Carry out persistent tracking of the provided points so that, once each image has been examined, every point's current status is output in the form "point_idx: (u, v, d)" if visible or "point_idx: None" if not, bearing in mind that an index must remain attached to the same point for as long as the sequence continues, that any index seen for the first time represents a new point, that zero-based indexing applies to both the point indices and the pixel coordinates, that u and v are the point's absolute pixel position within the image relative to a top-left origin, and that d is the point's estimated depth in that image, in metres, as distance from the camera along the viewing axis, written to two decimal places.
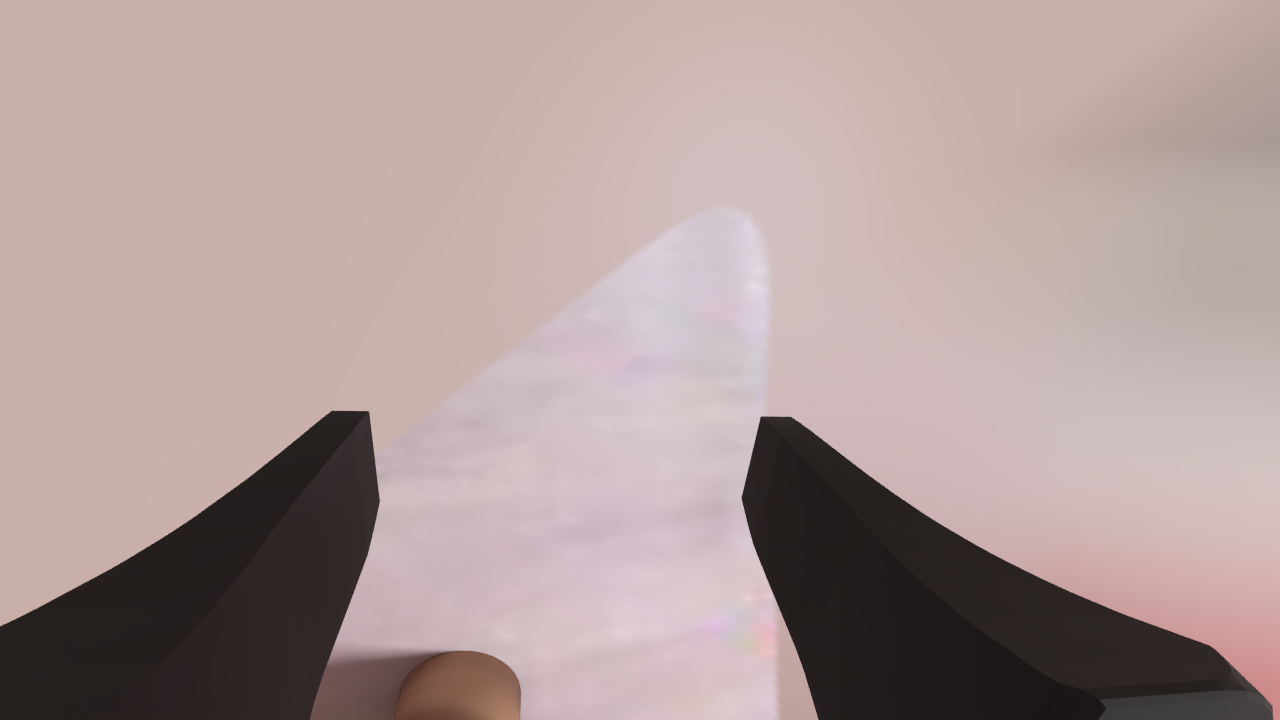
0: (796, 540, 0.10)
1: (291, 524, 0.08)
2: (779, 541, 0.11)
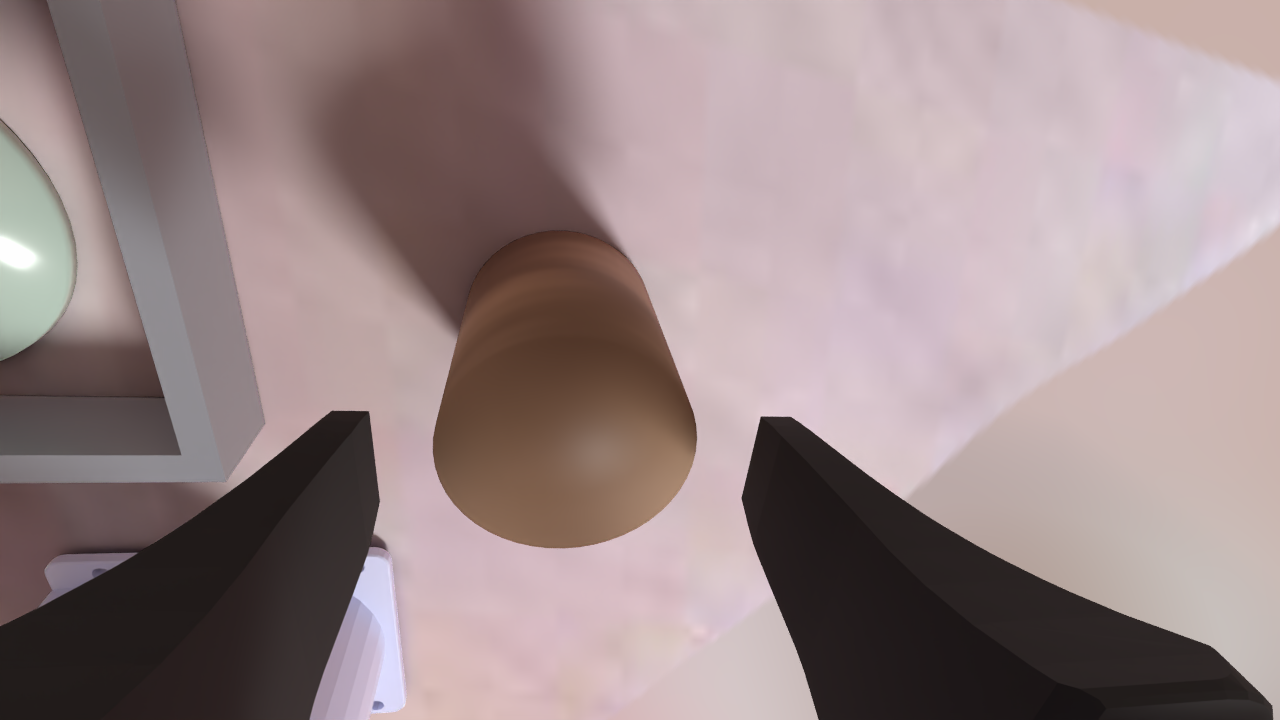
0: (796, 540, 0.10)
1: (291, 524, 0.08)
2: (779, 541, 0.11)
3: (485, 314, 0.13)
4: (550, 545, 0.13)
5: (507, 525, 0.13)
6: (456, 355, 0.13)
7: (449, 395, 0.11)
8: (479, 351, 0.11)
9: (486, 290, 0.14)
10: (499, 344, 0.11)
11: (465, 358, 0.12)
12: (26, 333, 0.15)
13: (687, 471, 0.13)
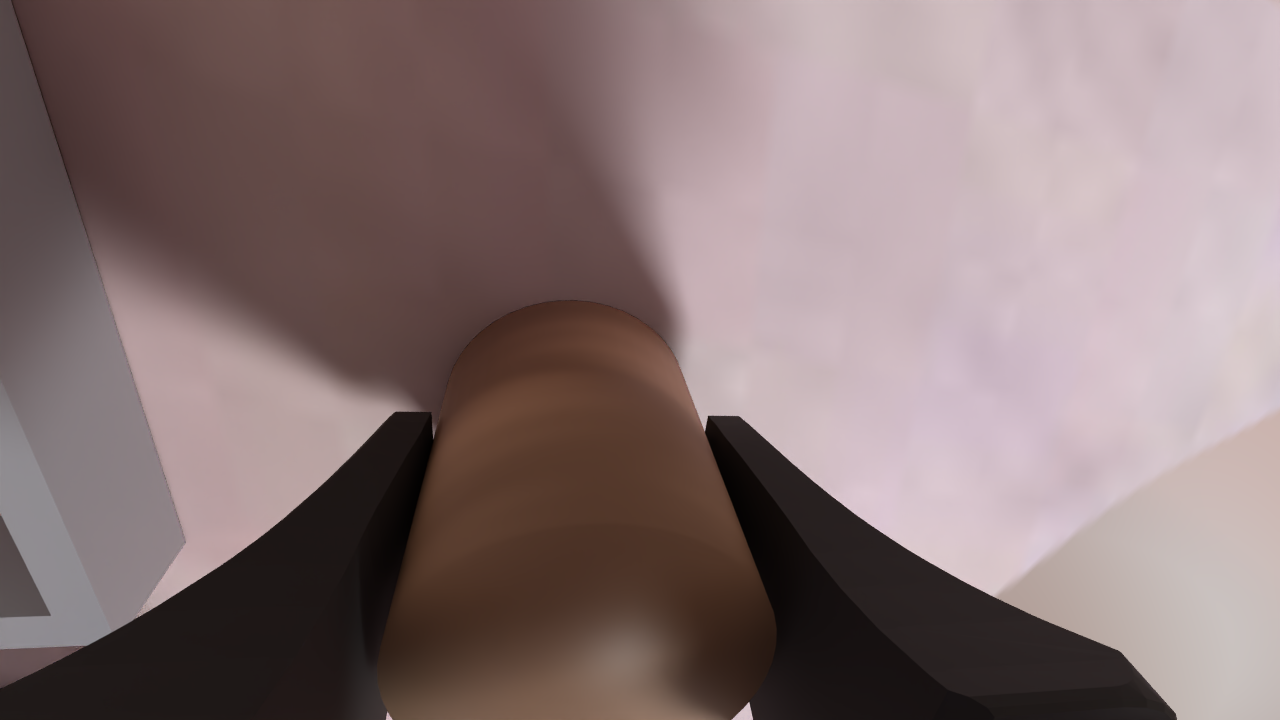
0: None
1: (378, 523, 0.08)
2: None
3: (462, 450, 0.09)
4: None
5: None
6: (419, 512, 0.09)
7: (399, 610, 0.07)
8: (448, 535, 0.07)
9: (467, 398, 0.10)
10: (479, 530, 0.07)
11: (428, 537, 0.08)
12: None
13: (758, 683, 0.09)
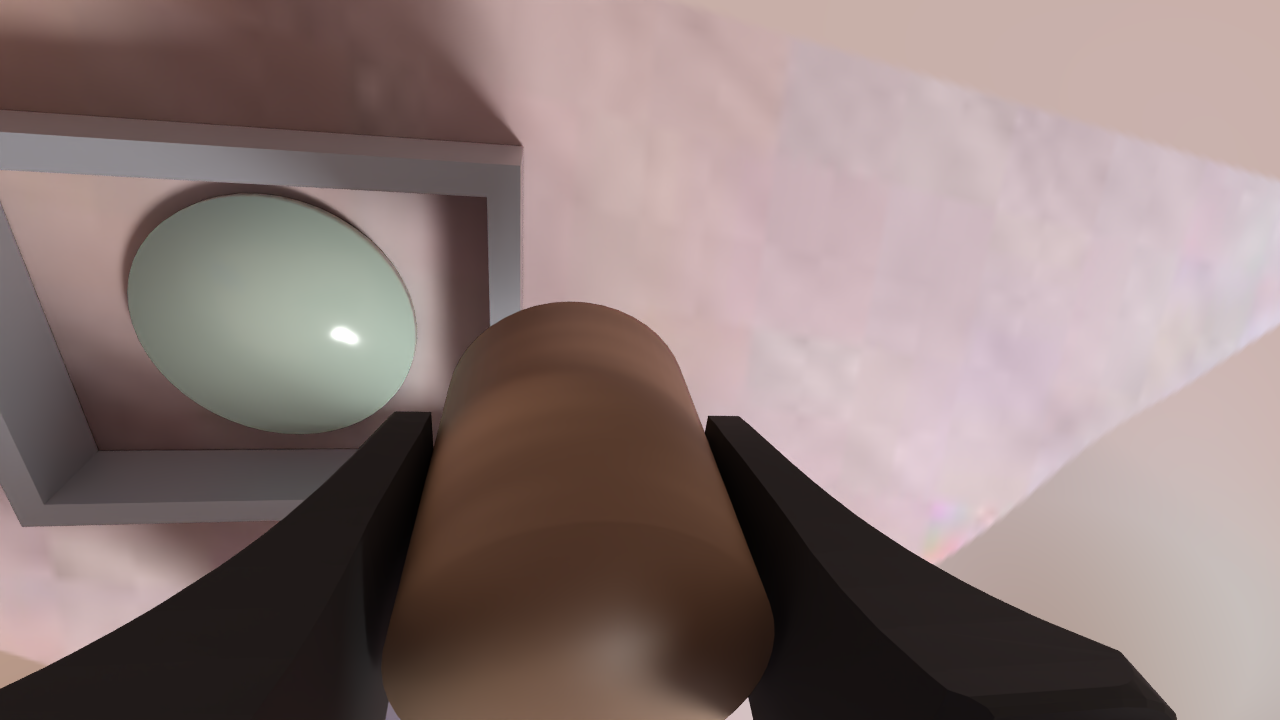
0: None
1: (377, 523, 0.08)
2: None
3: (458, 454, 0.09)
4: None
5: None
6: (419, 516, 0.09)
7: (399, 614, 0.07)
8: (443, 538, 0.07)
9: (464, 403, 0.10)
10: (472, 532, 0.07)
11: (425, 541, 0.08)
12: (373, 405, 0.20)
13: (760, 674, 0.09)
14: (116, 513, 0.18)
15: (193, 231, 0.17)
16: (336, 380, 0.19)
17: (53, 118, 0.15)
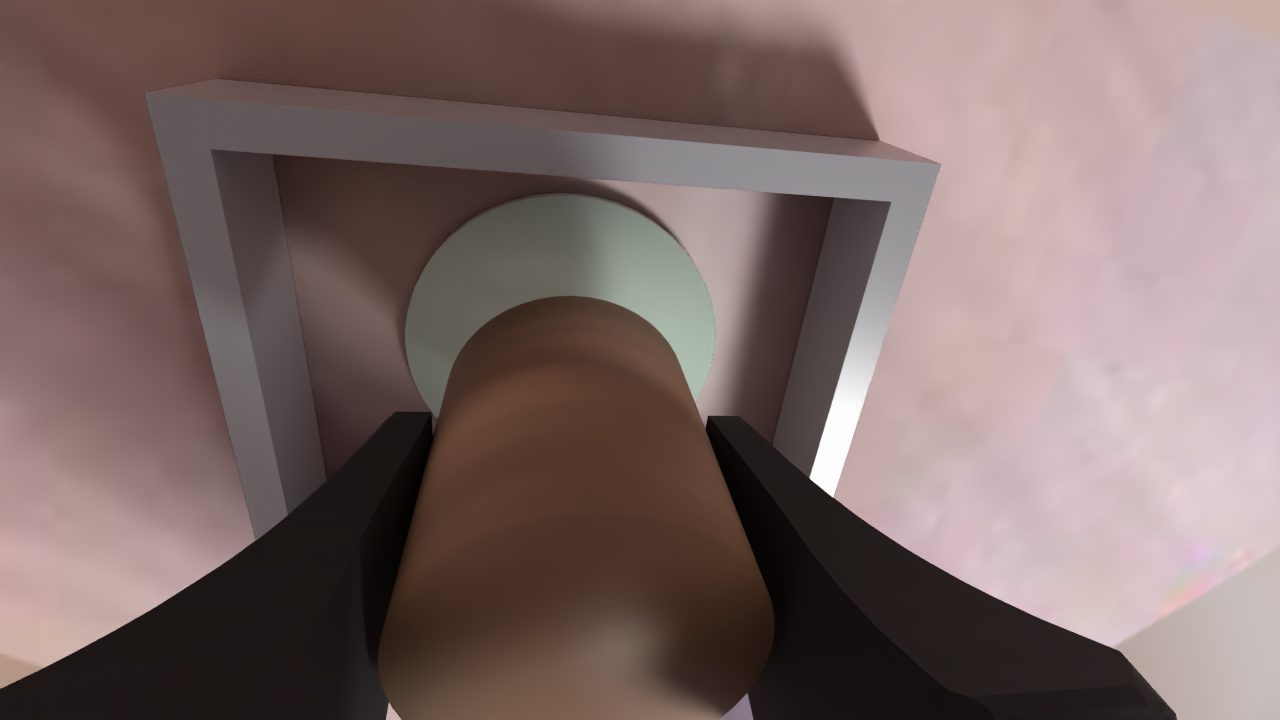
0: None
1: (377, 523, 0.08)
2: None
3: (459, 445, 0.09)
4: None
5: None
6: (418, 506, 0.09)
7: (398, 603, 0.07)
8: (444, 527, 0.07)
9: (465, 394, 0.10)
10: (474, 522, 0.07)
11: (426, 530, 0.08)
12: None
13: (759, 671, 0.09)
14: None
15: (499, 237, 0.14)
16: None
17: (376, 98, 0.12)
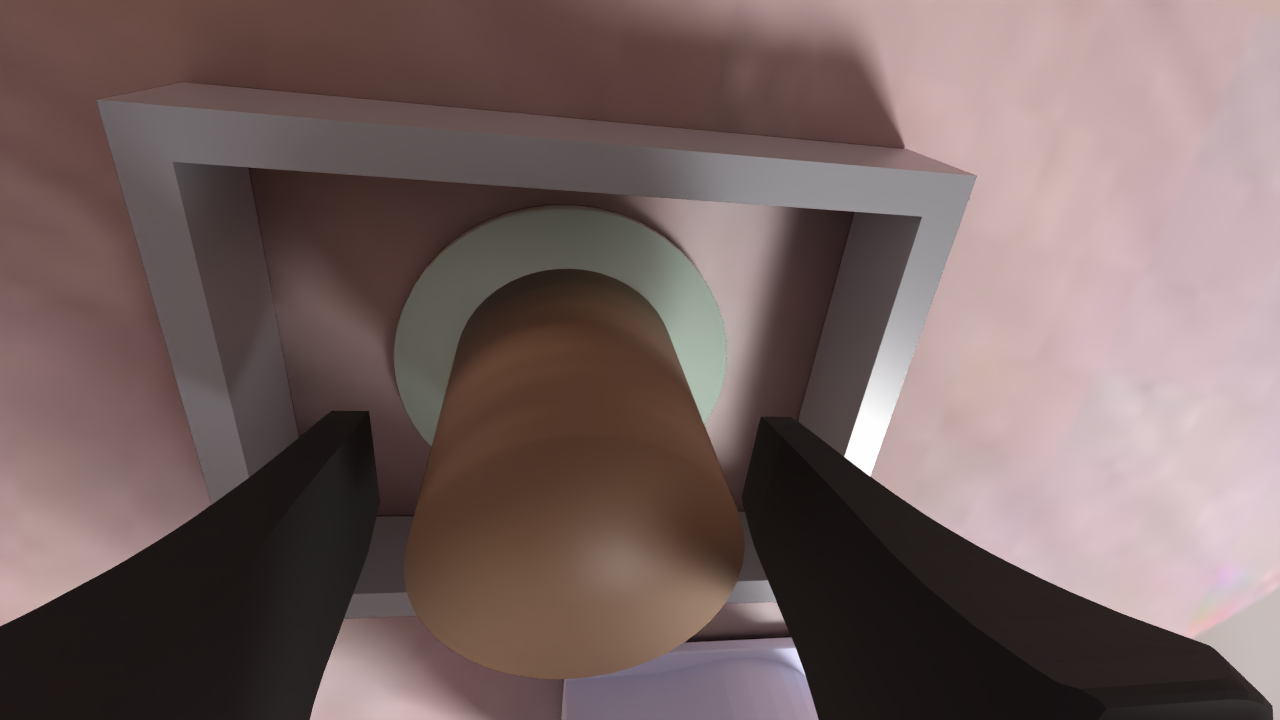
0: (796, 540, 0.10)
1: (291, 524, 0.08)
2: (779, 541, 0.11)
3: (471, 390, 0.10)
4: (560, 674, 0.10)
5: (504, 657, 0.10)
6: (435, 443, 0.10)
7: (421, 513, 0.08)
8: (461, 452, 0.09)
9: (474, 351, 0.11)
10: (486, 444, 0.08)
11: (444, 457, 0.09)
12: None
13: (732, 586, 0.10)
14: (361, 605, 0.14)
15: (495, 252, 0.13)
16: None
17: (359, 103, 0.11)
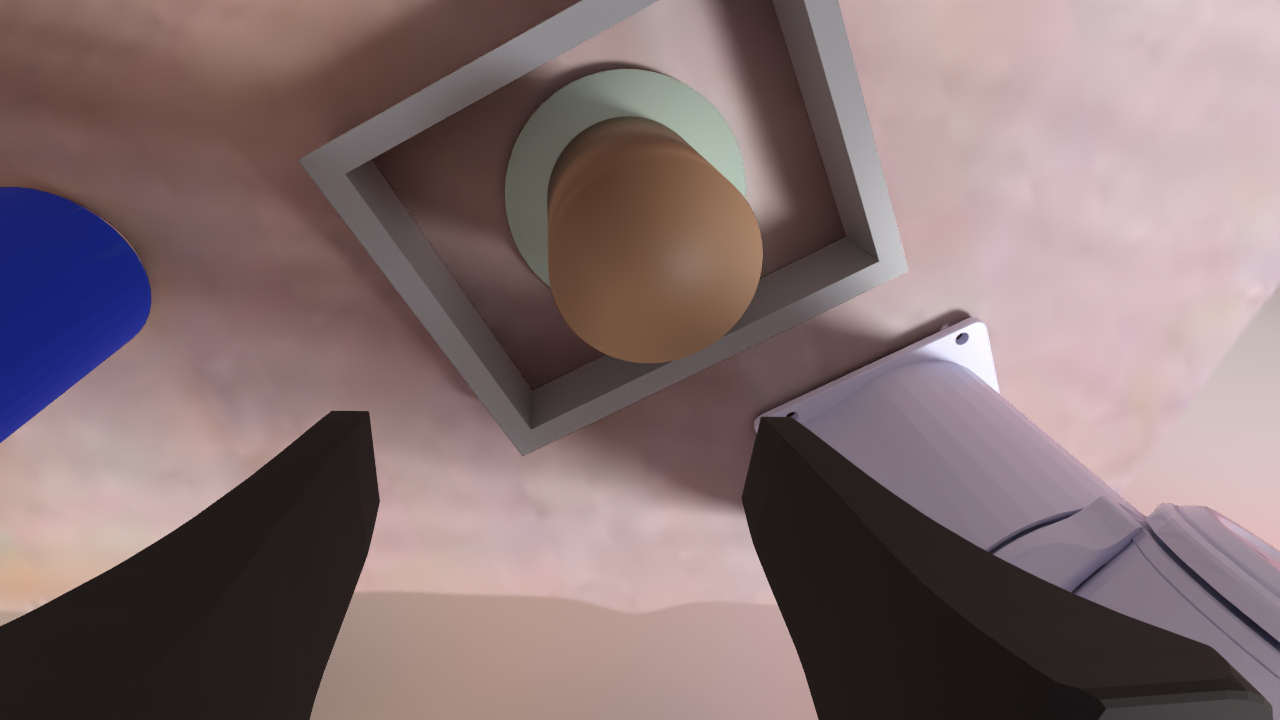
0: (796, 540, 0.10)
1: (291, 524, 0.08)
2: (779, 541, 0.11)
3: (551, 209, 0.16)
4: (691, 353, 0.16)
5: (649, 351, 0.15)
6: None
7: (548, 269, 0.14)
8: (553, 228, 0.14)
9: (550, 199, 0.17)
10: (561, 212, 0.14)
11: (549, 241, 0.15)
12: None
13: (759, 236, 0.14)
14: (582, 416, 0.21)
15: (538, 143, 0.18)
16: None
17: None
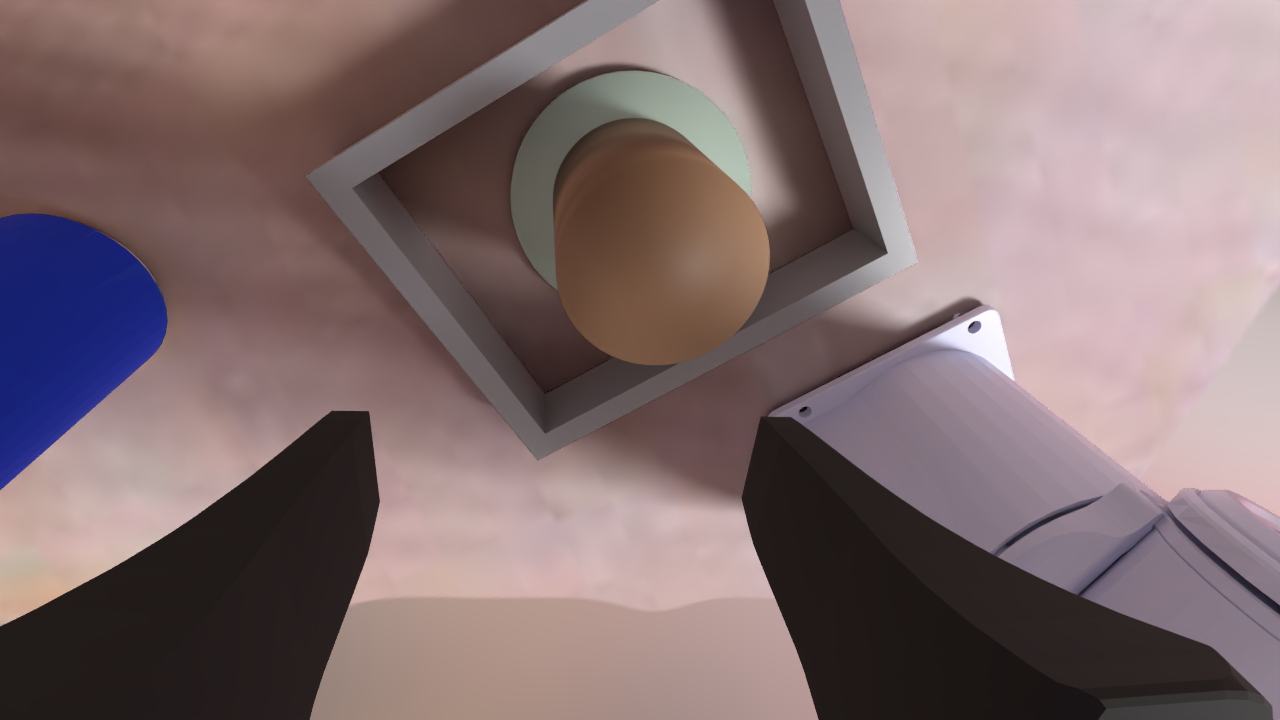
0: (796, 540, 0.10)
1: (291, 524, 0.08)
2: (779, 541, 0.11)
3: (557, 215, 0.16)
4: (701, 353, 0.16)
5: (659, 353, 0.15)
6: None
7: (556, 275, 0.14)
8: (559, 234, 0.14)
9: (555, 204, 0.17)
10: (566, 219, 0.14)
11: (555, 248, 0.15)
12: None
13: (765, 235, 0.14)
14: (595, 418, 0.21)
15: (541, 149, 0.18)
16: None
17: (417, 105, 0.17)
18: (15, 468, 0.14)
